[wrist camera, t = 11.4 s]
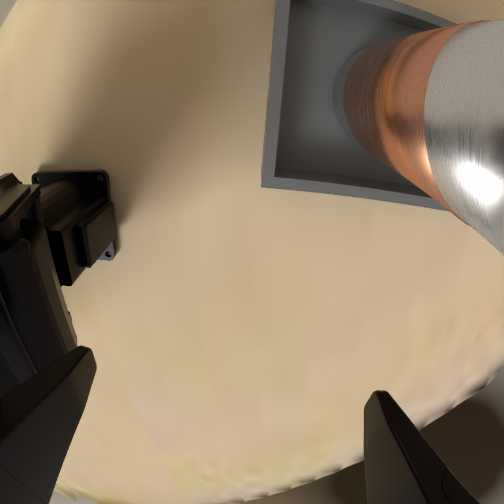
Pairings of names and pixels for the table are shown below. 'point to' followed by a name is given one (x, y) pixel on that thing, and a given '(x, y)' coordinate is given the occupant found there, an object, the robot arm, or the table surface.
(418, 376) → the table surface
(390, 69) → the steel can
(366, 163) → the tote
